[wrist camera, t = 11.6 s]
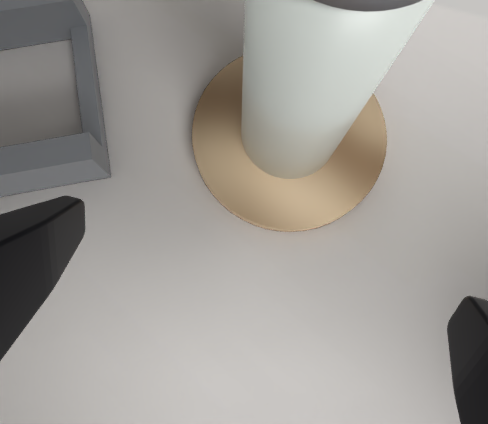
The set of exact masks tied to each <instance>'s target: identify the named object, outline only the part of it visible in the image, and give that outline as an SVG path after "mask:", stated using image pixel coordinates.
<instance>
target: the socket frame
mask: <svg viewBox="0 0 488 424" xmlns="http://www.w3.org/2000/svg"><path fill="white" fill-rule="evenodd" d="M68 39H72V47H73V56H74V64H75V72H76V81H77V89H78V98H79V106H80V114H81V123H82V131H83V133H80V134H74V135H68V136H63V137H57V138H51V139H45V140H39V141H34V142H28V143H22V144H16V145H11V146H5V147H0V197H2V196H8V195H14V194H19V193H25V192H30V191H36V190H41V189H47V188H53V187H58V186H64V185H69V184H75V183H80V182H86V181H92V180H97V179H103V178H108V177H111V173H110V165H109V157H108V150H107V142H106V135H105V127H104V119H103V112H102V104H101V97H100V89H99V81H98V74H97V66H96V59H95V51H94V43H93V36H92V28H91V21H90V15H89V13H88V11H87V9H86V7H85V5H84V3H83V1H82V0H0V50H6V49H12V48H18V47H24V46H31V45H37V44H43V43H49V42H55V41H62V40H68Z"/></svg>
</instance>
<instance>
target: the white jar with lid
mask: <svg viewBox="0 0 488 424" xmlns="http://www.w3.org/2000/svg"><path fill="white" fill-rule="evenodd" d="M434 1H435V0H245V10H244V47H243V83H242V120H241V138H242V144H243V147H244V150H245V152H246V154H247V155H248V157H249V158H250V160H251V161H252V162H253V163H254V164H255V165H256V166H257V167H258V168H259V169H261V170H262V171H264V172H265V173H267V174H269V175H272V176H274V177H278V178H282V179H297V178H303V177H306V176H309V175H311V174H313V173H315V172H316V171H318V170H319V169H321V168H322V167H323V166H324V165H325V164H326V163H327V161H328V160H329V159H330V157H331V156H332V154H333V153H334V151H335V150H336V148H337V147H338V145H339V144H340V142H341V141H342V139H343V138H344V136H345V135H346V133H347V132H348V130H349V129H350V127H351V126H352V124H353V123H354V121H355V120H356V118H357V117H358V115H359V114H360V112H361V111H362V109H363V108H364V106H365V105H366V103H367V102H368V100H369V99H370V97H371V96H372V94H373V92H374V91H375V89H376V88H377V86H378V85H379V83H380V82H381V80H382V79H383V77H384V76H385V74H386V73H387V71H388V70H389V68H390V67H391V65H392V64H393V62H394V61H395V59H396V58H397V56H398V55H399V53H400V52H401V50H402V49H403V47H404V46H405V44H406V43H407V41H408V40H409V38H410V37H411V35H412V34H413V32H414V31H415V29H416V28H417V26H418V25H419V23H420V22H421V20H422V19H423V17H424V16H425V14H426V13H427V11H428V10H429V8H430V7H431V5H432V4H433V2H434Z"/></svg>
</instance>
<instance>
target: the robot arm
mask: <svg viewBox="0 0 488 424" xmlns="http://www.w3.org/2000/svg"><path fill="white" fill-rule="evenodd" d="M84 233H85V206H84V202H83V201H82V200H81V199H78V198H74V197H70V196H62V197H58V198H55V199H52V200H48V201H45V202H41V203H38V204H35V205H31V206H28V207H24V208H21V209H18V210H14V211H11V212H7V213H4V214H1V215H0V361H1V359H2V358H3V357H4V355H5V354H6V353H7V351H8V350H9V349H10V347H11V346H12V344H13V343H14V342H15V340H16V339H17V338H18V336H19V335H20V334H21V332H22V331H23V330H24V328H25V327H26V326H27V324H28V323H29V321H30V320H31V319H32V317H33V316H34V315H35V313H36V312H37V311H38V309H39V308H40V307H41V305H42V304H43V303H44V301H45V300H46V298H47V297H48V296H49V294H50V293H51V291H52V290H53V288H54V287H55V285H56V284H57V282H58V280H59V279H60V277H61V275H62V273H63V272H64V270H65V268H66V266H67V265H68V263H69V261H70V259H71V258H72V256H73V254H74V252H75V251H76V249H77V247H78V245H79V244H80V242H81V240H82V238H83V236H84ZM447 333H448V342H449V352H450V361H451V371H452V380H453V388H454V394H455V399H456V404H457V409H458V413H459V418H460V422H461V424H488V301H487V300H485V299H481V298H477V297H473V296H467V297H465V298H464V299H463V300H462V301H461V303H460V304H459V306H458V308H457V309H456V311H455V312H454V314H453V315H452V317H451V318H450V320H449V322H448V326H447Z"/></svg>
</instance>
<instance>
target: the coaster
mask: <svg viewBox="0 0 488 424" xmlns="http://www.w3.org/2000/svg"><path fill="white" fill-rule="evenodd" d="M242 83H243V56H241V57H239V58H238V59H236V60H234V61H233V62H231V63H229V64H228V65H227V66H226V67H225V68H223V69H222V70H221V71H220V72H219V73H218V74H217V75H216V76H215V77H214V78H213V79H212V80H211V82H210V83H209V84H208V86H207V87H206V88H205V90H204V92H203V94H202V96H201V98H200V99H199V102H198V105H197V107H196V110H195V115H194V119H193V126H192V144H193V150H194V155H195V159H196V163H197V166H198V168H199V171H200V174H201V176H202V178H203V180H204V182H205V184H206V186H207V187H208V189H209V190H210V192H211V193H212V194H213V196H214V197H215V198H216V199H217V200H218V201H219V202H220V203H221V205H223V206H224V207H225V208H226V209H227V210H229V211H230V212H231V213H232V214H234V215H236V216H237V217H239V218H240V219H242V220H244V221H246V222H248V223H250V224H253V225H255V226H258V227H261V228H265V229H269V230H275V231H285V232H296V231H306V230H310V229H315V228H318V227H321V226H324V225H327V224H329V223H331V222H333V221H335V220H337V219H339V218H340V217H342V216H343V215H345V214H346V213H348V212H349V211H350V210H352V209H353V208H354V207H355V206H356V205H357V204H358V203H360V202H361V201H362V200H363V199H364V198H365V196H366V195H367V194H368V193H369V191H370V190H371V189H372V187H373V186H374V184H375V182H376V180H377V179H378V177H379V174H380V172H381V169H382V167H383V163H384V159H385V155H386V146H387V134H386V126H385V120H384V117H383V113H382V110H381V108H380V105H379V103H378V101H377V99H376V97H375V95H374V94H372V96H371V97H370V99H369V100H368V102H367V103H366V105H365V106H364V108H363V109H362V111H361V112H360V114H359V115H358V117H357V118H356V120H355V121H354V123H353V124H352V126H351V127H350V129H349V130H348V132H347V133H346V135H345V136H344V138H343V139H342V141H341V142H340V144H339V145H338V147H337V148H336V150H335V151H334V153H333V154H332V156H331V157H330V159H329V160H328V161H327V163H326V164H325V165H324V166H323V167H322V168H321V169H319V170H318V171H316V172H315V173H313V174H311V175H309V176H306V177H303V178H297V179H282V178H278V177H274V176H272V175H269V174H267V173H265V172H264V171H262V170H261V169H259V168H258V167H257V166H256V165H255V164H254V163H253V162H252V161H251V160H250V158H249V157H248V155H247V154H246V152H245V150H244V147H243V144H242V138H241V120H242Z"/></svg>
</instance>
